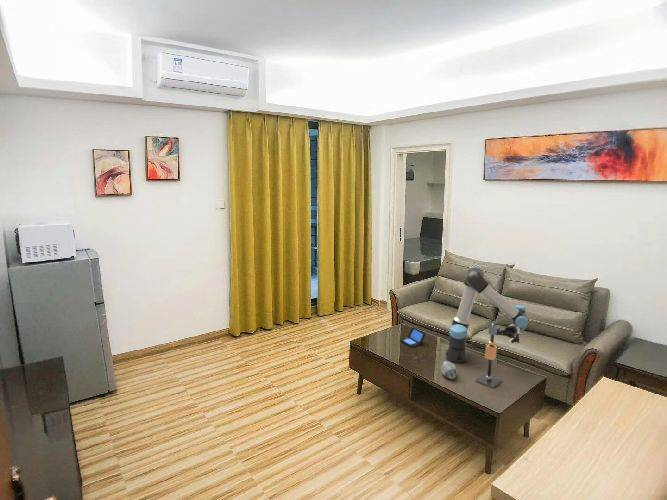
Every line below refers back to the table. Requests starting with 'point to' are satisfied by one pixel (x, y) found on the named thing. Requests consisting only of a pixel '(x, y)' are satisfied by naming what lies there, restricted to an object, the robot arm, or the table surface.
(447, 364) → the spool
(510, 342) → the robot arm
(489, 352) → the sleeve
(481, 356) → the table surface
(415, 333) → the handheld game console
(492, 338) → the stand
